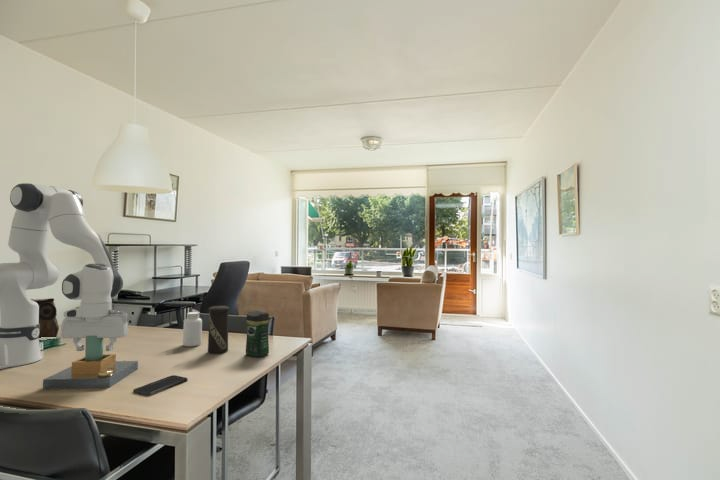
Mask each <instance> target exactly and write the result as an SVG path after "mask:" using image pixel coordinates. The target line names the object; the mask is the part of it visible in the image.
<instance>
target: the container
mask: <svg viewBox="0 0 720 480" xmlns="http://www.w3.org/2000/svg"><path fill="white" fill-rule="evenodd" d="M229 310H230V307H229V306H227V305H213V306H210V307H208V313H209V314H208V334H207V335H208V337H207V338H208V339H207V343H208V344H207V353H208V354H210V355H211V354H213V355H215V354H216V355H217V354H218V355H219V354H224V353H227V352H228V350H229Z"/></svg>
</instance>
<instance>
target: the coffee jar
mask: <svg viewBox="0 0 720 480" xmlns="http://www.w3.org/2000/svg"><path fill="white" fill-rule="evenodd" d="M245 322H246V341H245V342H246V343H245V355H246V356H249V357H253V358H254V357H255V358H259V357H266V356H267V355H268V354H269V353H270V347H269V346H270V344H269V343H270V342H269V324H270V313H268V312H265V311H260V310H252V311H249V312H248V313H247V314H246V319H245Z"/></svg>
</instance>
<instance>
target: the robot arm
mask: <svg viewBox="0 0 720 480" xmlns="http://www.w3.org/2000/svg"><path fill="white" fill-rule="evenodd" d="M9 200H10V204H11V205H12V206H13V208H14V209H15V212H14V214H13V217H12V221H11V226H10V229H9V237H8V241H7V246H8V248H10V249H11V250H12V251H13V252H15V253H17V255H18V257H19V262H2V263H0V370H2V369H6V368H12V367H17V366H18V367H19V366H24V365H29V364H32V363H36V362H38V361H41V360H43V354H42V351H41V346H40V341H39V334H40V324H39V305H38V303H36V302H35V301H33V300H30V299H31V298H29V297H28V295H27V292H26V291H28V290H36V289H43V288H46V287H49V286H52V285H54V284H55V283H56V282H58V279H59V269H58V268H57V267H56V265H55V264H53V263H52V262H51V260H50V259H49V257H48V252H47V243H48V237H49V236H48V235H49V229H50V232H51V234H52V236H53V237H54V239H56V240H57V241H59V242H61V243H63V244H65V245H68V246H72V247H76V248H78V249H80V250H83V251H85V252H87V253H88V254H89V255H90V256H91V257H92V259H93V262H94V263H88V264H85V265H83V267H82V269H81V270H79V271H76V272H73V273H70V274H68V275H67V276H65V278H64V279H63V281H62V282H61V292H62V294H63V296H64V297H66V298H67V299H69V300H74V301H77V300H81V301H80V305H79V306H76V307H74V308H71V309H68V310H65V311H64V312H63V317H64V319H63V320H62V322H61V326H60V327H61V328H60V336H61V337H62V338H63V339H72V342H73V343H74V345H75V347H76V349H75V351H76V352H82V351H84V350H85V344H82V342H81V340H82V339H86V336H97V338H104V339H108V340H109V341H110V342H109V344H106V345H105V351H106V352H109V351H113V350H114V345H115V343H116V342H117V339H118V338H119V339H120V338H122V339H123V338H124V337H126V336H127V335H128V334H129V324H128V320H129V314H128V313H127V312H126V311H124V310H112V309H113V308H112V303H113V299H112V298H114V297H116V296H117V295H118V294H119V293H120V292H121V291H122V289H123V287H124V280H123V278H122V276H121V274H120V273H119V271H118V270H117V268H116V266H115V264H114V261H113V260H112V257H111V255H110V253H109V251H108V249H107V248H108V247H107V246H106V244H105V242H104V240H103V237H101V235H100V234H98V233H97V232H95V230H93V229H92V227H91V226H90V224H89V222H88V219H87V216H86V211H85V209H84V202H83V201H84V199H83V198H82V195H81V194H80V193H79V192H77V191H75V190H74V191H73V190H71V189H65V188H61V187H57V186H52V185H41V184H33V183H25V182H23V183H18V184H17V185H15V186H14V187H13V188H12V189H11V191H10V194H9Z"/></svg>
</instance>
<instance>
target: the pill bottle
mask: <svg viewBox="0 0 720 480" xmlns="http://www.w3.org/2000/svg"><path fill="white" fill-rule="evenodd" d="M182 328H183V330H182V345H183V346H184V347H197V346H199V345H201V344H202V334H203V319H202V318H201V317H200V312H198V311H190V312H187V313H186V319H184V321H183V327H182Z"/></svg>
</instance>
